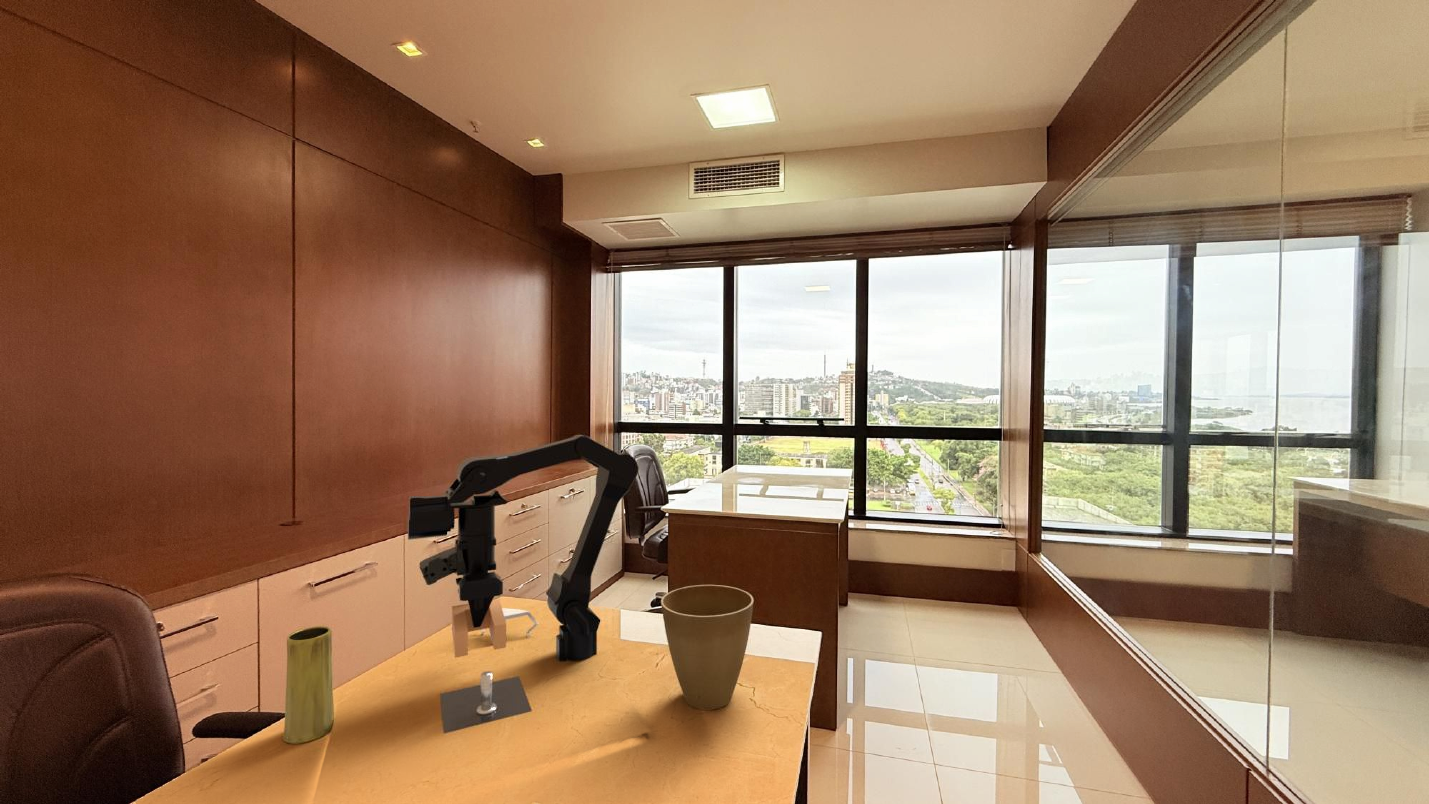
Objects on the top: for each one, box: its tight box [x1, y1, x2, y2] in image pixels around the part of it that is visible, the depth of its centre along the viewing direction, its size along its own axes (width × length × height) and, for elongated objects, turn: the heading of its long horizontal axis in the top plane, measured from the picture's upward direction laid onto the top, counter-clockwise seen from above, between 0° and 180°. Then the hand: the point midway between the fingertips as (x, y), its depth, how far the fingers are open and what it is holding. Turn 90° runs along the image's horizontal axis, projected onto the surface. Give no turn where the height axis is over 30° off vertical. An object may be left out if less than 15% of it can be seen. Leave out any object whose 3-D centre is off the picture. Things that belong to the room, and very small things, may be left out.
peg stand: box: [440, 670, 533, 734], centre depth 86 cm, size 12×12×6 cm
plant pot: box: [660, 584, 754, 711], centre depth 89 cm, size 15×15×16 cm
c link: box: [451, 598, 507, 658], centre depth 91 cm, size 7×9×4 cm
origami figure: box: [480, 607, 539, 638], centre depth 113 cm, size 12×8×5 cm
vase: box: [282, 625, 335, 745], centre depth 80 cm, size 6×6×14 cm
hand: (476, 624), depth 94 cm, fingers closed on c link, 2 cm apart
